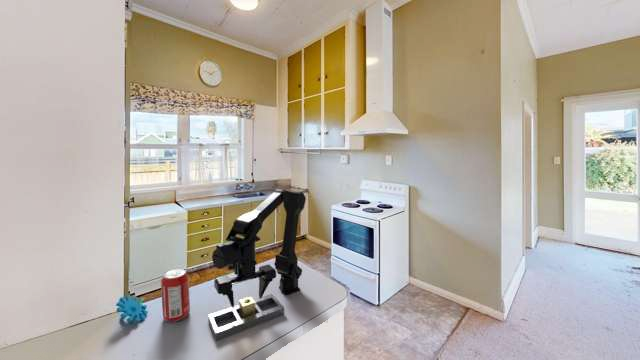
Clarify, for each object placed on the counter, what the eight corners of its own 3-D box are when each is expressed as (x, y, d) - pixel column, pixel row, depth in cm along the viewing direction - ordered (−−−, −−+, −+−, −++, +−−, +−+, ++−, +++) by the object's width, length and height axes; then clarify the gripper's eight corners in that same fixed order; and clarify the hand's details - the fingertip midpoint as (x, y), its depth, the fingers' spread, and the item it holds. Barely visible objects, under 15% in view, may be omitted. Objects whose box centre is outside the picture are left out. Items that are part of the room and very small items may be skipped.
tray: (271, 300, 94) (271, 293, 94) (284, 314, 86) (284, 307, 86) (208, 322, 82) (208, 314, 82) (216, 341, 74) (215, 333, 73)
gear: (136, 325, 78) (112, 302, 77) (121, 339, 77) (97, 317, 77) (156, 307, 89) (135, 288, 88) (143, 320, 88) (122, 300, 88)
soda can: (171, 327, 79) (168, 281, 78) (158, 318, 83) (155, 274, 82) (194, 314, 86) (193, 271, 84) (182, 306, 90) (180, 265, 88)
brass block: (251, 313, 87) (251, 296, 86) (255, 319, 84) (255, 301, 83) (239, 317, 85) (239, 299, 84) (243, 323, 81) (243, 305, 81)
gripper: (263, 243, 94) (263, 283, 95) (209, 254, 83) (211, 299, 85) (276, 253, 84) (276, 298, 86) (218, 267, 74) (219, 318, 76)
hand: (246, 302), depth 83 cm, fingers open, 9 cm apart
